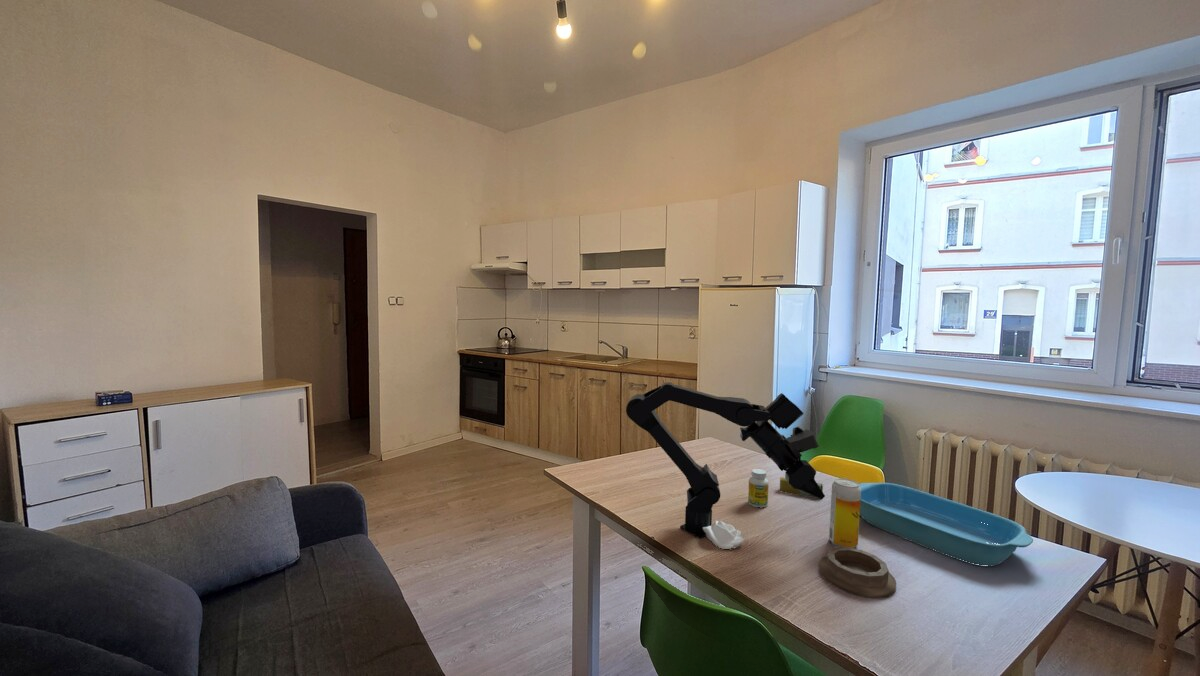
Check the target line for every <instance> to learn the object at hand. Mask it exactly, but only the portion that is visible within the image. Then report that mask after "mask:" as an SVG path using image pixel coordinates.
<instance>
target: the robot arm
mask: <svg viewBox="0 0 1200 676" xmlns="http://www.w3.org/2000/svg"><path fill="white" fill-rule="evenodd" d="M669 401H670V402H674V403H678V404H681V405H684V406H685V405H686V406H687V407H692V408H696V409H700V410H703V411H706V412H710V413H713V414H716V415H718V416H720V417H722V418H723V419H725V420H727V421H729V422H731V423H733V424H735V425H737V426H740V427H739V430H740V434H739V437H740V439H741V441H742V442H745V441H746V440H747V439H748V438H750V439H751V440H752V441H753V442H754V443H755V444H756V445H757V446H758V447H759V448H760V449H761V450H762V451H763V452H764V454H765V455H766V457H767V458H769V459H771V460H772V461H773V463H774V464H776V466H777V467H778V469H779V471H781V472H783V471H785V474H784V475H785V476H784V478H786V480H787V481H788V483H789V484H790V485H791V486H792V487H793V488H794V489H799V490H801V491H804V492H806V493H809V494H811V495H813V496H816V497H818V498H817V499H819V498H820V499H819V500H823V499H824V498H825V497H826V496H825V494H824V491H823V492H822V490H821V489H820V487H819V486H818V484H817V483H818V482H817V481H816V479H815V477H816V475H817V471H816V469H815V468H814V467H813V466H812V465H811V463H809V462H808V460H806V459H801V458H802V456H803V455H802V453H804V452H807V451H809V450H812V449H813V450H815V449H817V448H818V447H819V446H820V445H819V443H818V441H817V439H816V436H815V434H814V432H813V431H812V430H810V429H806V428H805V429H802V428H801V427H800V426H795V427H793V428H792V434H790V436H789V437H786V436H785V435H784V434H781V433H780V432H779V431H778V430H777V429H776V428H778V429H779V430H780V429H782V430H784V429H785V430H787V429H788V428H789V427H790V426H792V425H793V424H794V423H795V422H797V421H798V420H799V418H801V417H802V416H804V412H803V411H802V410H801V408H799V406H798V405H797V404H796V403H794V402H792V401H791V400H790V399H789V398H788V397H787V396H786V395H785V394H784V393H783V392H782V393H780V394H779V395H777V397H776V398H775V399H774V400H773V401H771V402H770V404H768V405H767V406H766V407H765V406H764V405H760V404H755V403H751V402H750V401H749V400H748V399H745V398H743V397H733V396H716V395H712V394H709V393H706V392H702V391H699V390H695V389H692V388H688V387H685V386H681V385H677V384H674V383H672V382H670V381H668V382H667V381H666V382H664V383H662V384H661V385H659V386H658V387H655V388H653V389H651V390H648V391H647V392H645V393H643V394H641V393H640V394H639V393H638V394H634V395H633V396H631V397H630V398H629V400H628V402H627V404H626V408H625V409H626V410H625V413H626V415H627V418H629V420H631V421H632V422H633V423H634V424H635V425H637V427H639V428H641V429H643V430H644V431H645V432H647V433H648V434H650V436H651V437H652V438H653V439H654V440H655V442H656V443H657V444H658V445H659V447H660V448H661V449H662V450H663V451H664V453H665V454H666V455H667V456H668V457H669V459H671V461H672V462H673V463H674V465H675V466H676V467H677V468H678V469H679V470H680V472H681V473H682V474H683V475H684V476H685V477H686V478H685V479H686V480H687V482H688V484H689V486H690V487H689V488H688V489H687V490H686V498H687V499H686V500H687V501H686V502H687V503H686V504H687V505H686V506H685V511H684V512H685V518H684V523H683V524H681V525H680V526H679V528H680V529H681V530H683V531H686V532H687V533H688V534H691V535H693V536H695V537H696V538H699V539H700V538H703V537H706V533H705V532H704V530H703V529H702V528H703V527H708V526H712V525H713V524H712V520H713V519H712V518H713V517H712V516H713V510H712V508H713V506H714V505H716V504H717V503H718V502H719V501H720V498H721V490H720V483H719V479H718V475H717V474H715V473H714V472H713V471H712V470H711V469H710V467H709V465H708V464H707V463H705V464H704V466H702V465H699V464H698V463H697V462H696V461H695V459H693V458H692V457H691V455H690V454H689V453H688V452H687V450H685V448H684V447H683V446H682V445H681V443H680V442H679V441H678V440H677V439H676V438H675V437H674V435H673V434H672V433H671V432H670V431H669V429H668V428H667V427H666V426H665V425H664V423H663V422H662V421H661V419H660V417H659V415H658V414H657V413H658V412H657V411H656V409H658V408H659V407H661V406H663V405H664V404H665V403H667V402H669ZM769 421H771V423H773V425H774V426H775V427H776V428H775V427H774V426H773V425H772V424H771V423H770V422H769Z"/></svg>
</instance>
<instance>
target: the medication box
mask: <svg viewBox="0 0 1200 676" xmlns="http://www.w3.org/2000/svg"><path fill="white" fill-rule="evenodd" d="M816 483H817V484H818V486H819V487H820V489H821V490H822V492H823V493H824V484H823V483H820V482H816ZM780 491H782V492H781V493H785V492H787V493H786V494H791V493H792V494H791V495H796V494H797V496H803V497H807V496H808V498H813V499H819V500H821V499H820V498H818V497H816V496H813V495H811V494H809V493H806V492H804V491H801V490H799V489H794V488H793V487H792V486H791V485H790V484H789V483H788V481H787V480H786V478H785V477H780V478H779V492H780Z"/></svg>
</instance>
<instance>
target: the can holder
mask: <svg viewBox="0 0 1200 676" xmlns="http://www.w3.org/2000/svg"><path fill="white" fill-rule="evenodd" d="M818 564H819V565H818V570H819V573H820V575H821V576H822V578H824V580H826V581H827V582H828V583H829V584H831V585H833V586H835V587H836V588H838V589H839V590H842V591H844V592H846V593H848V594H852V595H855V596H859V597H862V598H863V597H864V598H869V599H870V598H871V599H884V598H889V597H891V596H893V595H894V594H895V593H896V590H897V580H896V579H895V577H894V576H893V574H892V573H891V572H890V571H889V568H888V565H887V563H886V561H883V560H882V559H881V558H880V557H878V556H877V555H876V554H873V553H871V552H868V551H865V550H863V549H858V548H849V547H833V548H831V549H830V550H828V551H827V555H825V556H823V557H822V558H821V559H820V560H819V563H818Z"/></svg>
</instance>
